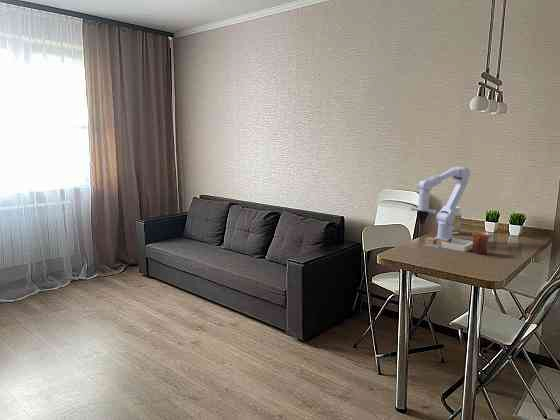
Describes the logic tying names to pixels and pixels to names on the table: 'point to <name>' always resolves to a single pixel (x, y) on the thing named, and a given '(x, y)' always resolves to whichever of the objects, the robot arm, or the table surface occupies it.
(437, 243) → the tile front
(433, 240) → the tile rear
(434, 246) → the slate coaster
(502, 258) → the table surface
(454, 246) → the frame
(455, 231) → the supplement tub
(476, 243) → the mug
